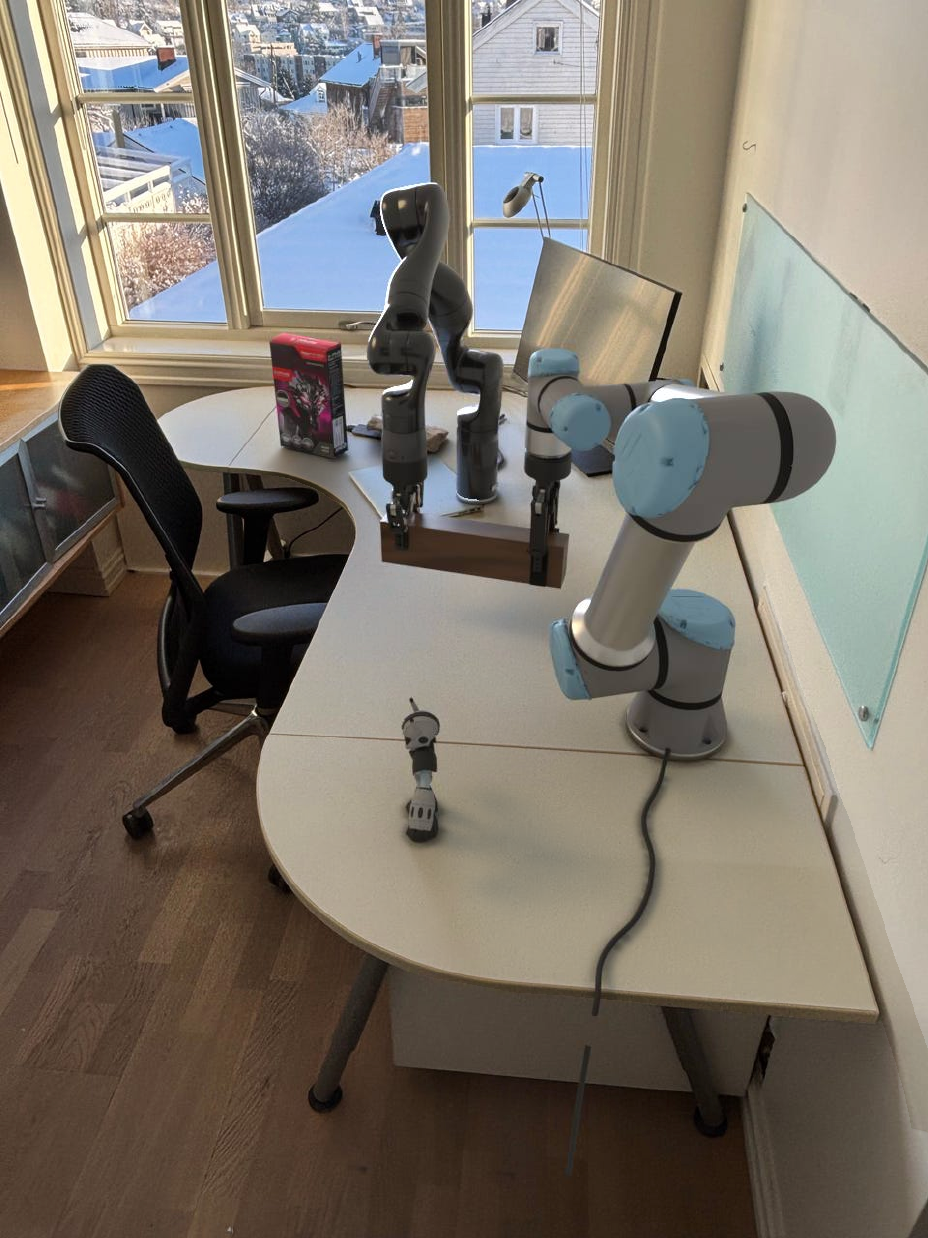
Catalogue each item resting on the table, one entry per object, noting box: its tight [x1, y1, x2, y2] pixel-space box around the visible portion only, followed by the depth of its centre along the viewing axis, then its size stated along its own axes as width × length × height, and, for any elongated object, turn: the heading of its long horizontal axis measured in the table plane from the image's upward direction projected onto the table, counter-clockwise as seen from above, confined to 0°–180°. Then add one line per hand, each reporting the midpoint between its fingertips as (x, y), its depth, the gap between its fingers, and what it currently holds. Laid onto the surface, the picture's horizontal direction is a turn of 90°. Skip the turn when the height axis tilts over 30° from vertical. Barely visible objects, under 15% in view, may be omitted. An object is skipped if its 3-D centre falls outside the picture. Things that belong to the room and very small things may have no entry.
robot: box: [400, 697, 441, 843], centre depth 121 cm, size 20×5×20 cm, turn 3°
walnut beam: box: [379, 511, 570, 590], centre depth 159 cm, size 5×32×8 cm, turn 75°
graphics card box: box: [268, 332, 349, 459], centre depth 224 cm, size 17×7×27 cm, turn 62°
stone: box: [365, 413, 449, 453], centre depth 234 cm, size 21×15×6 cm
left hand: (407, 541), depth 162 cm, fingers closed on walnut beam, 5 cm apart
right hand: (541, 576), depth 158 cm, fingers closed on walnut beam, 5 cm apart
